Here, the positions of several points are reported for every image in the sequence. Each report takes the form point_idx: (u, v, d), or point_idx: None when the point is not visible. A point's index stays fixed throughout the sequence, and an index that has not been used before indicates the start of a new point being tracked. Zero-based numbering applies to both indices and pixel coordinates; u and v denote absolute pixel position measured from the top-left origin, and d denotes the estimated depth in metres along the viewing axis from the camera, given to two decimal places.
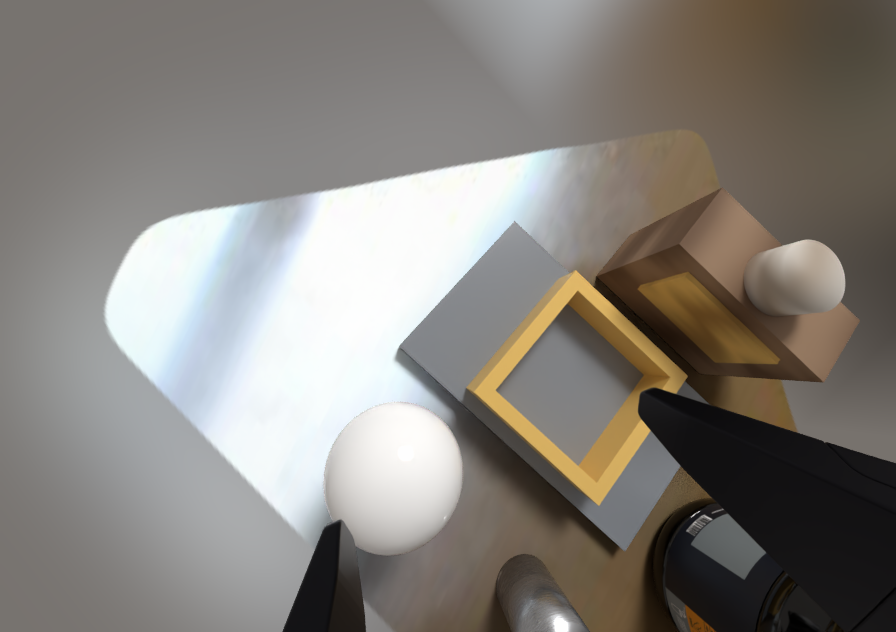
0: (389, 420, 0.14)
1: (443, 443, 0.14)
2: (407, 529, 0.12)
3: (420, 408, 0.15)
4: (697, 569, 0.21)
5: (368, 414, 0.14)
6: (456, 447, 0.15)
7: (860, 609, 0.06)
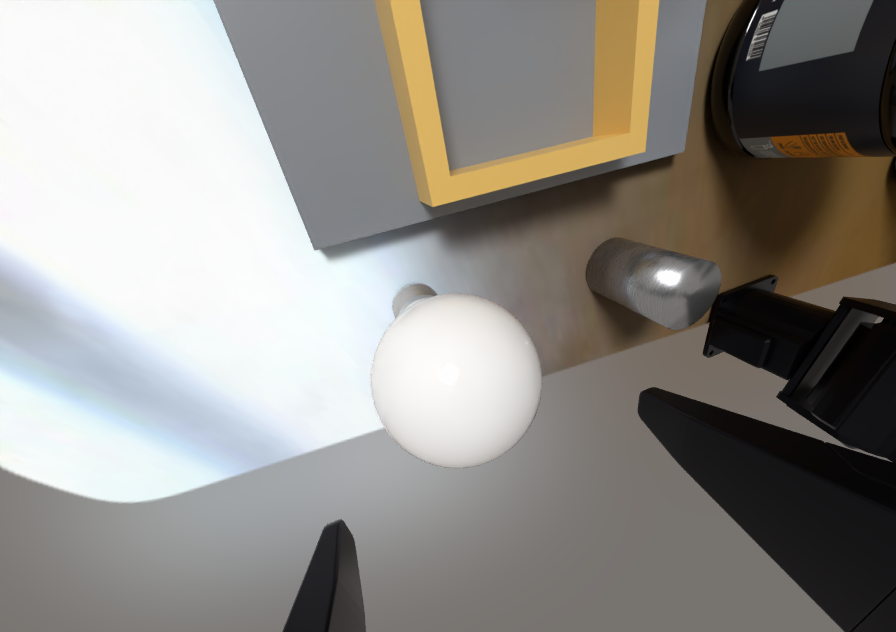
0: (401, 384, 0.10)
1: (472, 339, 0.10)
2: (521, 428, 0.10)
3: (411, 326, 0.10)
4: (778, 91, 0.16)
5: (378, 390, 0.10)
6: (485, 316, 0.10)
7: (860, 609, 0.06)
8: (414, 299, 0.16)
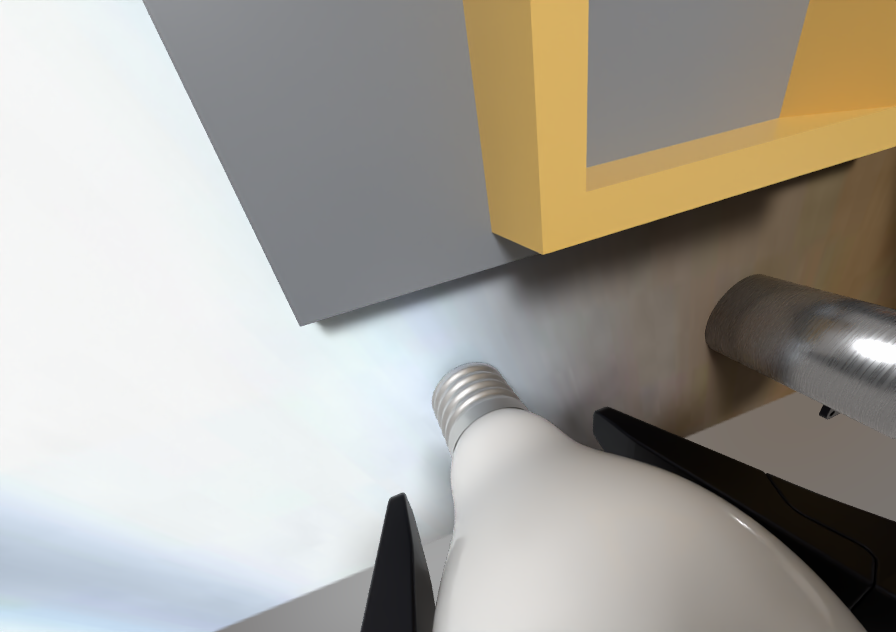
0: None
1: None
2: None
3: None
4: None
5: None
6: None
7: None
8: (481, 410, 0.09)
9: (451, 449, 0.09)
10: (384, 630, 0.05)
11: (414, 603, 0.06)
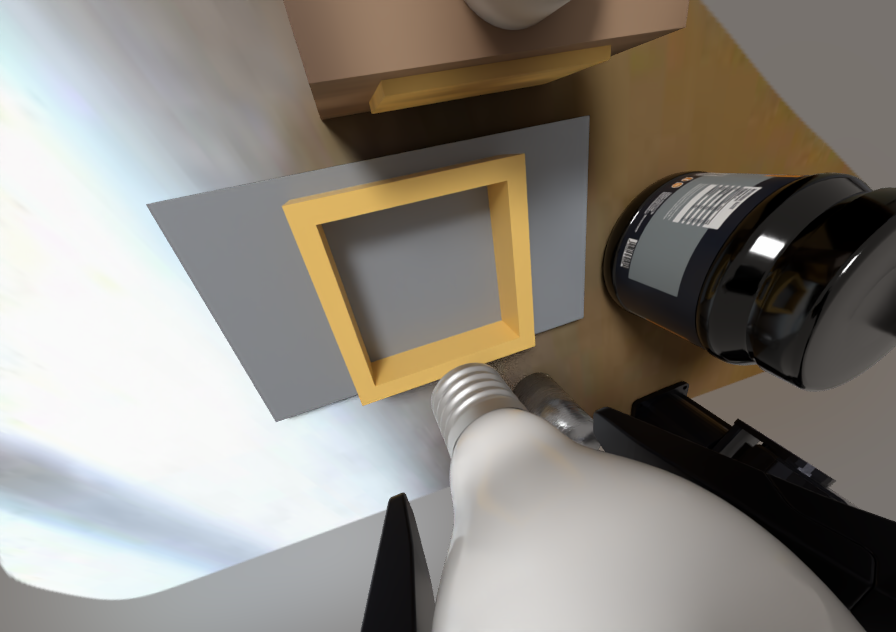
0: None
1: None
2: None
3: None
4: (641, 297, 0.21)
5: None
6: None
7: None
8: (480, 410, 0.09)
9: (450, 449, 0.09)
10: (384, 630, 0.05)
11: (414, 603, 0.06)
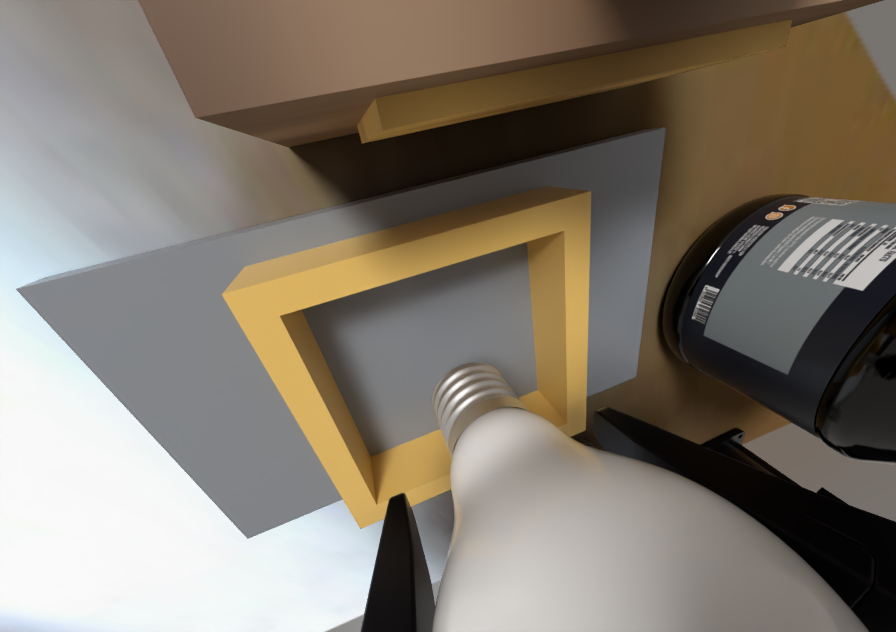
0: None
1: None
2: None
3: None
4: (722, 361, 0.16)
5: None
6: None
7: None
8: (481, 409, 0.09)
9: (451, 449, 0.09)
10: (384, 630, 0.05)
11: (414, 603, 0.06)
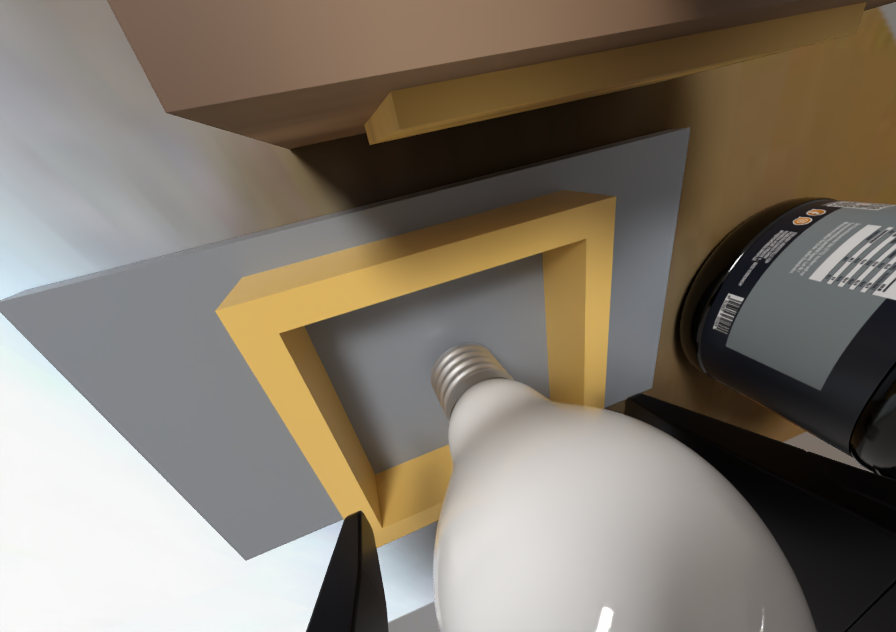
0: None
1: (723, 608, 0.04)
2: None
3: (547, 542, 0.05)
4: (746, 374, 0.15)
5: None
6: (710, 512, 0.05)
7: (842, 621, 0.06)
8: (474, 380, 0.10)
9: (448, 415, 0.10)
10: None
11: None
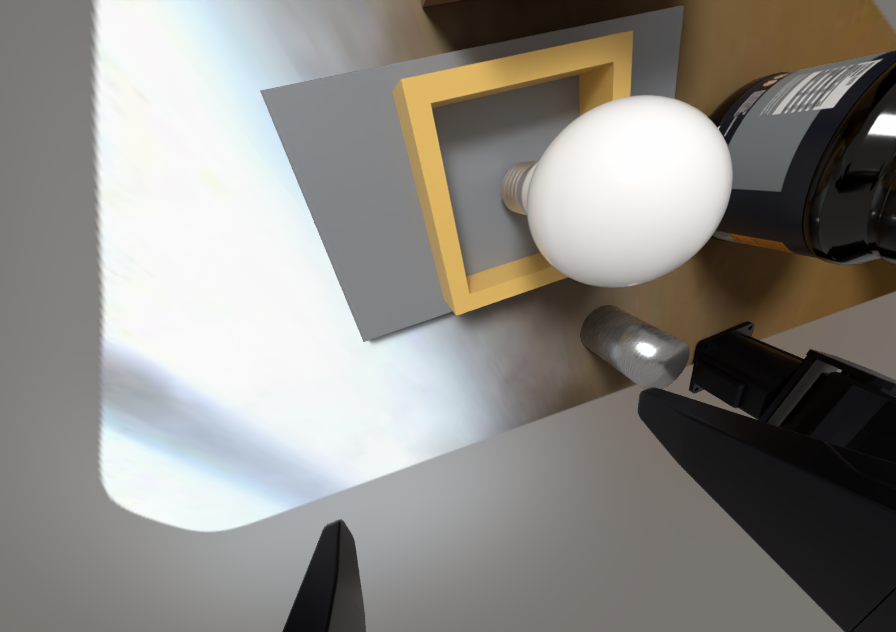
0: (600, 159, 0.09)
1: (679, 108, 0.09)
2: (719, 217, 0.10)
3: (599, 112, 0.10)
4: (730, 205, 0.20)
5: (561, 184, 0.10)
6: (678, 100, 0.10)
7: (860, 609, 0.06)
8: None
9: (519, 190, 0.16)
10: None
11: None
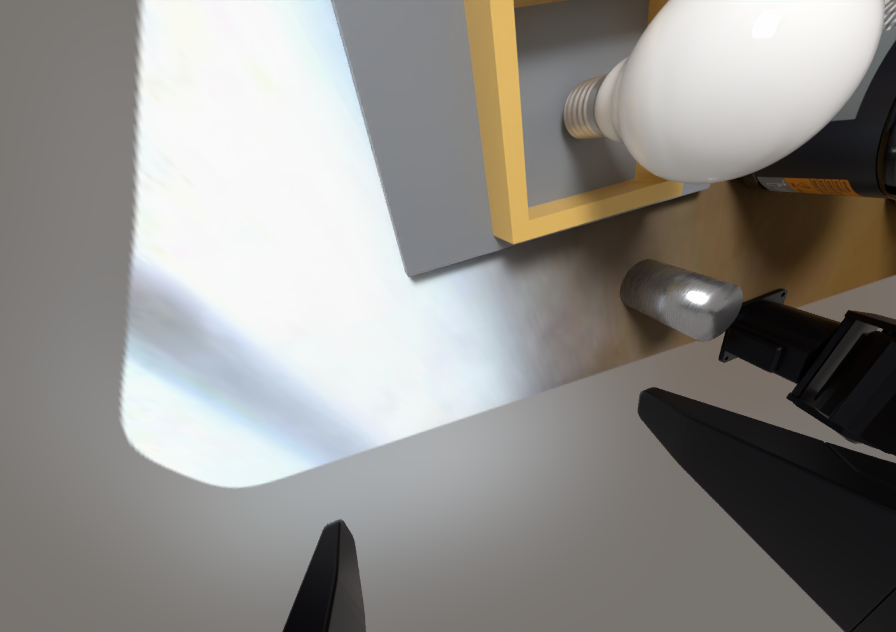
0: None
1: None
2: (865, 73, 0.09)
3: None
4: None
5: (686, 37, 0.09)
6: None
7: (859, 609, 0.06)
8: None
9: (592, 100, 0.15)
10: None
11: None
